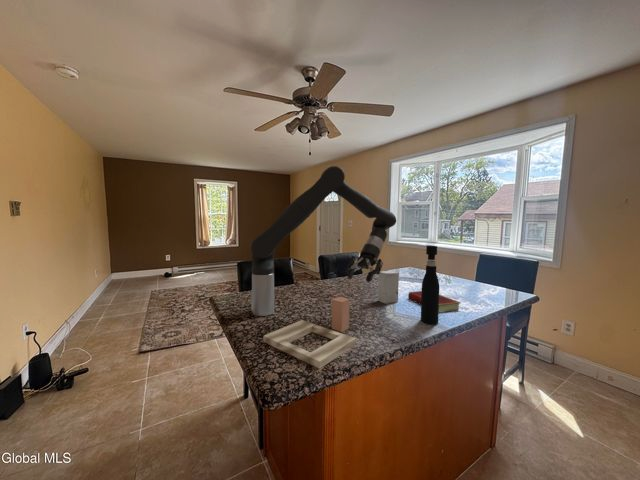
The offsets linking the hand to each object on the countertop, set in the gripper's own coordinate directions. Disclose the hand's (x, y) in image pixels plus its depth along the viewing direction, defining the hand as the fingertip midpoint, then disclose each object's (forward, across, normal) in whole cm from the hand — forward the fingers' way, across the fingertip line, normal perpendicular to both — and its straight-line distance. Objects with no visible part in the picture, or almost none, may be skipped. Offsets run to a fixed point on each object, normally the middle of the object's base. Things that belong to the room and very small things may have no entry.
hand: (357, 279), depth 103 cm
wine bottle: (0, +23, +23) cm, 33 cm away
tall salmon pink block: (+20, 0, +3) cm, 20 cm away
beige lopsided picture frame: (+31, -1, -8) cm, 32 cm away
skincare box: (-10, -1, +33) cm, 34 cm away
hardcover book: (-16, +17, +41) cm, 47 cm away
